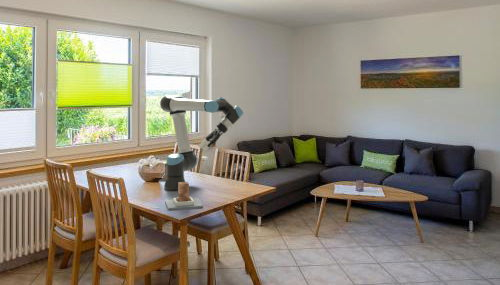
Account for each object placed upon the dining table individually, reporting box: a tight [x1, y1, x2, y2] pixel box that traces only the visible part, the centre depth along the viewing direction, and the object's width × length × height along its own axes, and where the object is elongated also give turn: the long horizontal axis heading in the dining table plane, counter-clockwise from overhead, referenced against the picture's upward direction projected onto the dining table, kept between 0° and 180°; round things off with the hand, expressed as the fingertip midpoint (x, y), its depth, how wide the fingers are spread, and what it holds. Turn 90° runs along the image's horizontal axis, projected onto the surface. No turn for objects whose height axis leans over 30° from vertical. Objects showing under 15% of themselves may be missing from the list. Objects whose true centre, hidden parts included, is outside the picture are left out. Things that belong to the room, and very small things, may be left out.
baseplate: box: [164, 196, 204, 211], centre depth 239 cm, size 20×18×3 cm
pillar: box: [177, 181, 190, 202], centre depth 239 cm, size 6×6×12 cm
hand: (201, 148), depth 264 cm, fingers open, 13 cm apart
